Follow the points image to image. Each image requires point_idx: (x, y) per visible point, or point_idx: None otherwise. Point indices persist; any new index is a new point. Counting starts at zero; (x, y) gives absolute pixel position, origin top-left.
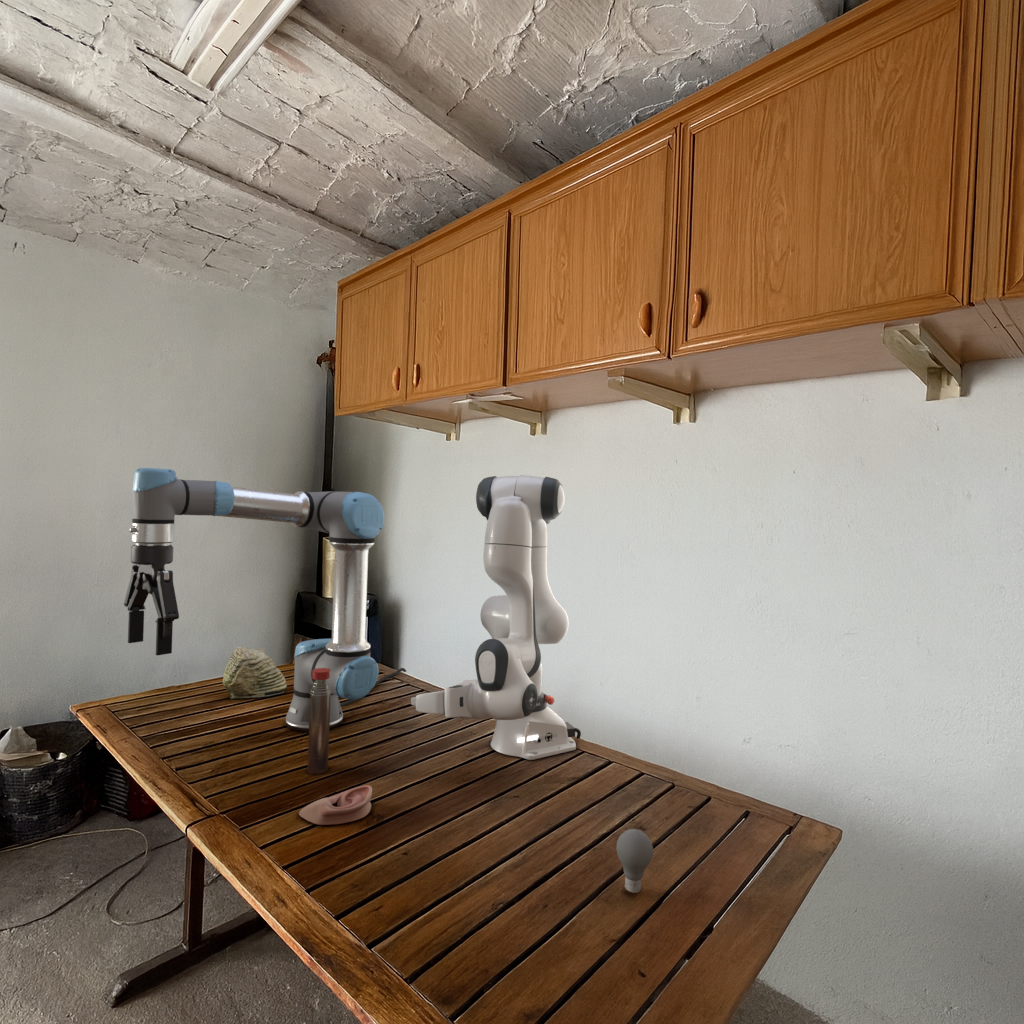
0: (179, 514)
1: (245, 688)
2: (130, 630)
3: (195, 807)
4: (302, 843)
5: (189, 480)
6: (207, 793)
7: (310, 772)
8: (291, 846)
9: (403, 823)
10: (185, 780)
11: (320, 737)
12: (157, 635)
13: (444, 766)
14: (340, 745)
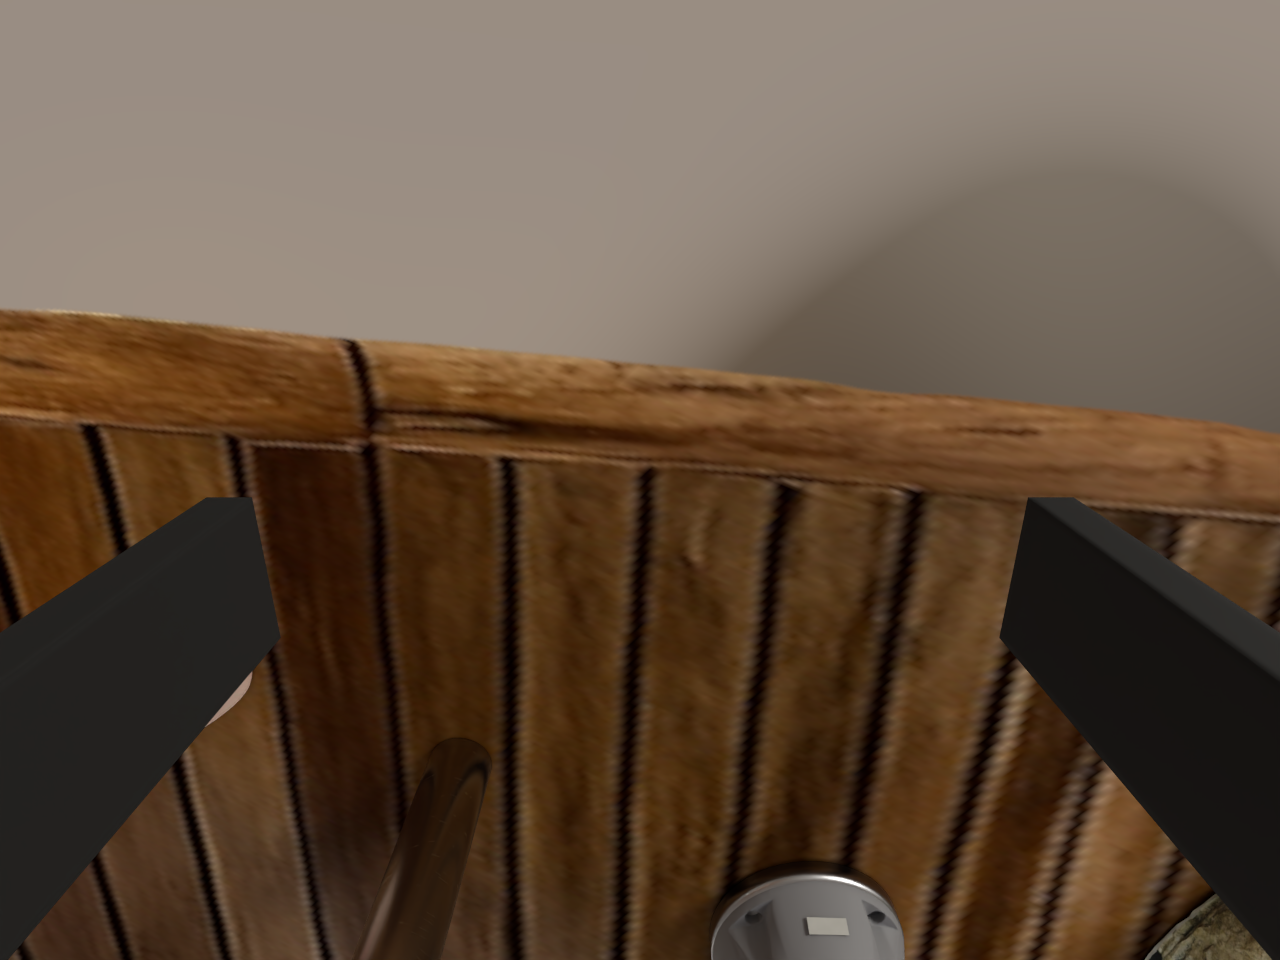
0: None
1: (1222, 937)
2: (1126, 583)
3: (459, 408)
4: (51, 514)
5: None
6: (532, 476)
7: (450, 740)
8: (51, 486)
9: None
10: (678, 470)
11: (395, 847)
12: (27, 624)
13: None
14: (578, 886)
